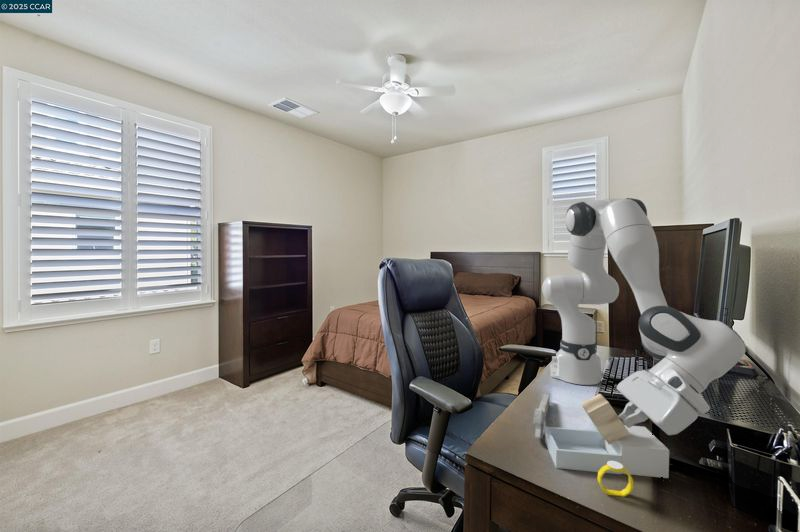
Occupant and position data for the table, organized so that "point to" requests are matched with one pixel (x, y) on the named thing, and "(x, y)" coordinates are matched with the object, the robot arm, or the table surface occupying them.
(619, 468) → the watch
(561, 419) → the table surface
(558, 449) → the tray
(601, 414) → the block
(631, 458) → the riser
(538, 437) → the wrench
